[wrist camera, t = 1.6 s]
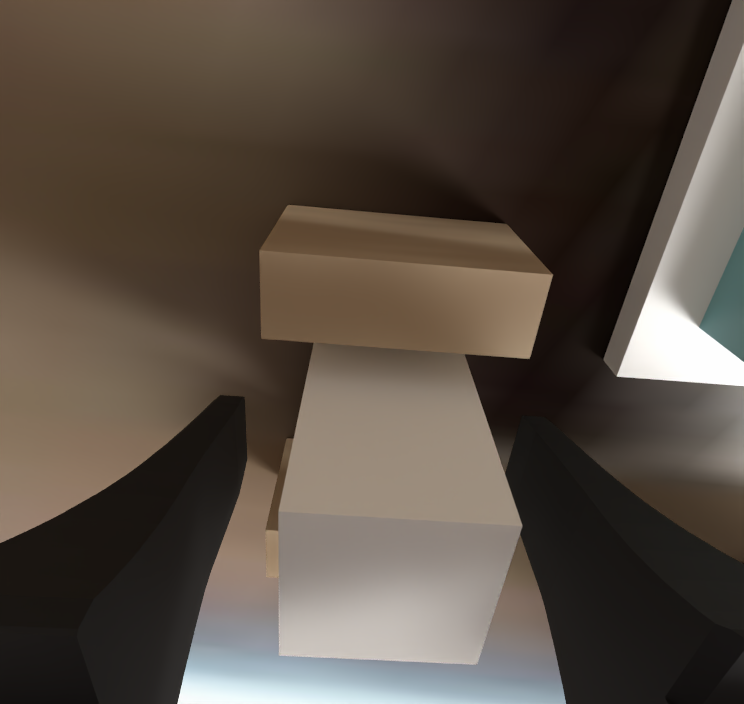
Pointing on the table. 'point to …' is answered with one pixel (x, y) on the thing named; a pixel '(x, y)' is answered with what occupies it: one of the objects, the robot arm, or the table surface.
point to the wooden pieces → (396, 291)
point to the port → (695, 243)
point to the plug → (392, 511)
